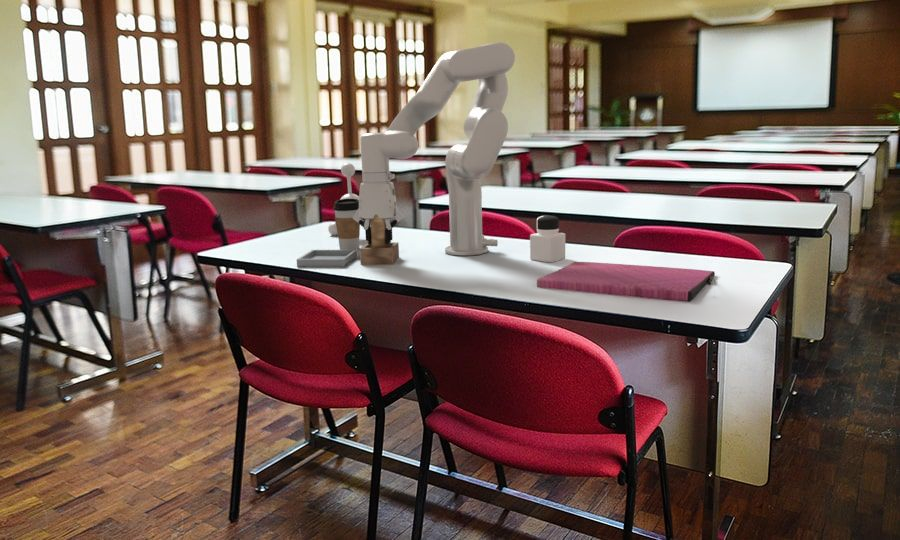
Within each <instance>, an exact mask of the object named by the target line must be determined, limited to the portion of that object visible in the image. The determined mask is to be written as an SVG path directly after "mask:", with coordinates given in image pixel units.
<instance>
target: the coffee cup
mask: <svg viewBox="0 0 900 540" xmlns="http://www.w3.org/2000/svg"><path fill="white" fill-rule="evenodd" d="M358 208H359V200H358V199H341V198H340V199H337V200H336V201H334V206H333V211H334V220H335V221H334V222H336V227H337V233H338V235H337V238H338V244H339V245H338V246H339V250H356V249H357V250H358V249H359V250H360V231H361V225H360V224H359V223H358V222H357V221H355V220H354V219H353V216H354V214H355V213H356V211H357V210H358Z"/></svg>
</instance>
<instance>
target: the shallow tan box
mask: <svg viewBox="0 0 900 540" xmlns="http://www.w3.org/2000/svg"><path fill="white" fill-rule="evenodd" d="M399 244H400V243H399V241H398V242H396V241H395V242H390V243H389V244H387V248H372V243H371V244H368V242H367V243H365V244H364V245H363V246H361V247H359V256H360V257H359V258H360V259H359V260H360V265H394V264H395V263H396V262H397V260H399V259H400V250H399V249H400V247H399Z"/></svg>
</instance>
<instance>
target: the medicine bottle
mask: <svg viewBox="0 0 900 540" xmlns="http://www.w3.org/2000/svg"><path fill="white" fill-rule="evenodd" d="M559 231H560V218H559V217H557V216H555V215H541V216H538V217H537V218H536V233H531V234H530V235H529V249H530V250H529V252H530V254H529V259H530V260H531V261H535V262H536V261H537V262H542V263H554V262H557V261H561V260H564V259H566V233H564V232H559Z"/></svg>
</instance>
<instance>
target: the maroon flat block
mask: <svg viewBox="0 0 900 540" xmlns="http://www.w3.org/2000/svg"><path fill="white" fill-rule="evenodd" d="M715 275H716V272H715V271H712V270H703V269H695V268H694V269H693V268H682V267H681V268H679V267H678V268H677V267H669V266H667V267H665V266H651V265H650V266H648V265H641V264H640V265H639V264H636V265H635V264H624V263H623V264H622V263H608V262H607V263H606V262H591V261H574V262H572V263H570V264H567V265H566V266H564V267H562V268H560V269H558V270H555V271H553V272H551V273H549V274H546V275H543V276H541V277H539V278H538V279H537V280H536V286H537V288H542V289H550V290H551V289H552V290H561V291H571V292H572V291H573V292H583V293H592V294H601V295H613V296H614V295H615V296H620V297H621V296H624V297H634V298H645V299H655V300H664V301H675V302H689V303H690V302H692V301H693V299H694V298H695V297H696V296H697V295H698V293H700V291H701V290H702V289H703V288H704V287H705V285H707V284H708V282H709V285H712V280H713V281H714V282H716V280H715V279H714V278H713V277H715Z"/></svg>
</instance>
